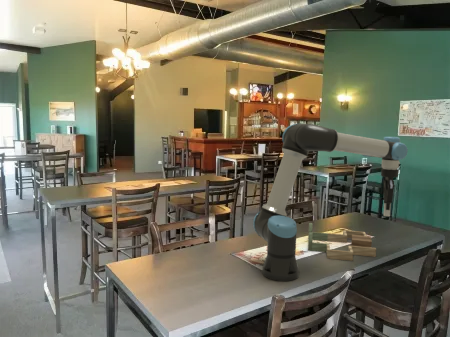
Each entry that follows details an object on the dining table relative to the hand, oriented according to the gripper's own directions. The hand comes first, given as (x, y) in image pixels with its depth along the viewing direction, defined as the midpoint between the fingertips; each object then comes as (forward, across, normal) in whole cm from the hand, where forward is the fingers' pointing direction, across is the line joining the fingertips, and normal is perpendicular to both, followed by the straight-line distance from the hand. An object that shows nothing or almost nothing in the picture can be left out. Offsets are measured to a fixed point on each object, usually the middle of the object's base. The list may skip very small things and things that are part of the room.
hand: (386, 215), depth 177 cm
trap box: (+18, 0, +21) cm, 28 cm away
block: (+18, 0, +11) cm, 21 cm away
